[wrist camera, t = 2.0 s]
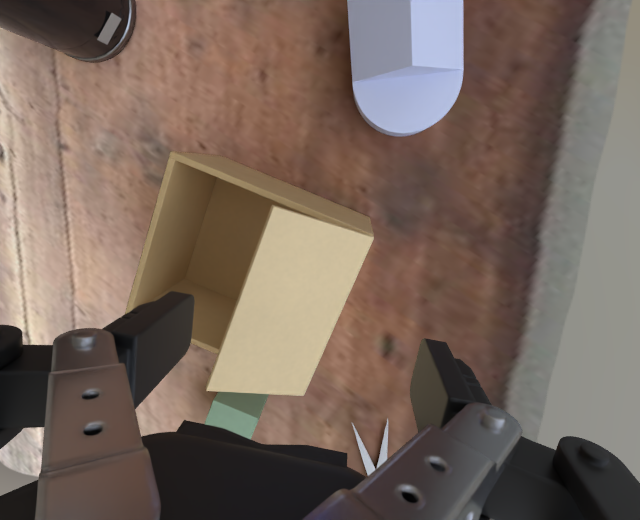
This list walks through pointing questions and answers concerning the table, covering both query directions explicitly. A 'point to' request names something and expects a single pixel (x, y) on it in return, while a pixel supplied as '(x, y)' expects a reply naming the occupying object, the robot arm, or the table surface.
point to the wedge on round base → (405, 61)
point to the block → (236, 412)
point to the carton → (216, 235)
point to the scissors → (365, 456)
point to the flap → (288, 305)
